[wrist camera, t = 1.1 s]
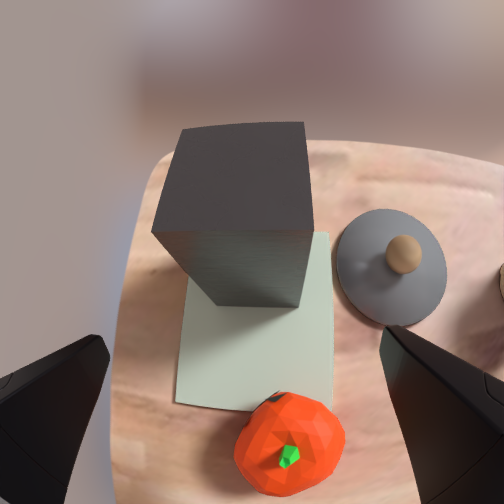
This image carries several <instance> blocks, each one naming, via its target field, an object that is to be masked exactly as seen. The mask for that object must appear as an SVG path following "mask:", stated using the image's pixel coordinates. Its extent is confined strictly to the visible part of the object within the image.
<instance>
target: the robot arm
mask: <svg viewBox="0 0 504 504" xmlns="http://www.w3.org/2000/svg"><path fill="white" fill-rule="evenodd" d="M379 352H380V358H381V361H382V365H383V369H384V374H385V378H386V382H387V386H388V391H389V395H390V398H391V401H392V404H393V407H394V410H395V413H396V416H397V419H398V422H399V425H400V428H401V431H402V434H403V437H404V440H405V444H406V447H407V450H408V454H409V457H410V461H411V464H412V468H413V472H414V476H415V480H416V484H417V488H418V492H419V496H420V501H421V504H504V382H503V381H501V380H499V379H497V378H495V377H493V376H491V375H490V374H488V373H486V372H484V373H483V371H482V370H480V369H479V368H477V367H475V366H473V365H471V364H469V363H468V362H466V361H464V360H462V359H460V358H459V357H457V356H455V355H453V354H451V353H449V352H448V351H446V350H444V349H442V348H440V347H438V346H436V345H435V344H433V343H431V342H429V341H427V340H425V339H424V338H422V337H420V336H418V335H416V334H414V333H413V332H411V331H409V330H407V329H405V328H403V327H401V326H400V325H397V324H395V325H389V326H386V327H384V329H383V333H382V338H381V343H380V349H379ZM109 361H110V354H109V352H108V349H107V347H106V345H105V343H104V340H103V338H102V337H101V336H100V335H93V334H91V335H88V336H86V337H84V338H82V339H80V340H78V341H76V342H74V343H72V344H70V345H68V346H66V347H64V348H61V349H59V350H57V351H56V352H54V353H52V354H49V355H48V356H46V357H43V358H41V359H39V360H37V361H35V362H33V363H31V364H29V365H27V366H25V367H23V368H21V369H19V370H17V371H15V372H14V373H11V374H9V375H6V376H4V377H2V378H0V504H64V501H65V496H66V493H67V487H68V485H69V481H70V477H71V474H72V470H73V467H74V464H75V461H76V458H77V455H78V452H79V449H80V446H81V443H82V440H83V437H84V434H85V431H86V428H87V426H88V423H89V420H90V418H91V415H92V412H93V410H94V407H95V405H96V402H97V400H98V397H99V394H100V391H101V388H102V384H103V381H104V378H105V374H106V371H107V368H108V365H109Z"/></svg>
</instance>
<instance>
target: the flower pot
mask: <svg viewBox="0 0 504 504" xmlns="http://www.w3.org/2000/svg"><path fill="white" fill-rule="evenodd" d="M500 274H501V279H500V289H501V293H502V296H503V299H504V264H503V265H502V267H501V270H500Z"/></svg>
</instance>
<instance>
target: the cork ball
mask: <svg viewBox="0 0 504 504" xmlns="http://www.w3.org/2000/svg"><path fill="white" fill-rule="evenodd" d="M421 258H422V250H421V247H420V245H419V243H418V242H417V240H416V239H414V238H413V237H411V236H409V235H399V236H396V237H394V238H393V239H392V240H391V241H390V242H389V244H388V246H387V248H386V261H387V263H388V265H389V267H390V268H391V269H392V270H393V271H395V272H396V273H399V274H408V273H411V272H413V271H414V270H415V269H416V268H417V267H418V266H419V264H420V262H421Z"/></svg>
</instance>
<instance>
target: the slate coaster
mask: <svg viewBox="0 0 504 504" xmlns="http://www.w3.org/2000/svg"><path fill="white" fill-rule="evenodd" d="M399 235H409V236H411V237H413V238H414V239H416V240H417V242H418V243H419V245H420V247H421V250H422V258H421V262H420V264H419V266H418V267H417V268H416V269H415V270H414V271H413V272H411V273H408V274H399V273H396V272H395V271H393V270H392V269H391V268H390V267H389V265H388V263H387V261H386V248H387V246H388V244H389V242H390V241H391V240H392V239H393V238H394V237H396V236H399ZM336 267H337V274H338V278H339V281H340V284H341V286H342V289H343V291H344V292H345V294H346V296H347V298H348V299H349V300H350V302H351V303H352V304H353V305H354V306H355V308H356V309H357V310H358V311H360V312H361V313H362V314H363V315H365V316H366V317H368V318H369V319H371V320H373V321H375V322H377V323H380V324H383V325H387V326H389V325H395V324H397V325H400V326H407V325H411V324H414V323H416V322H418V321H420V320H422V319H424V318H426V317H427V316H428V315H430V314H431V313H432V312H433V311H434V310H435V309H436V307H437V306H438V304H439V303H440V301H441V299H442V297H443V294H444V291H445V288H446V282H447V267H446V261H445V257H444V254H443V252H442V249H441V247H440V245H439V243H438V241H437V240H436V238H435V237H434V235H433V234H432V233H431V231H430V230H429V229H428V228H427V227H426V226H425V225H424V224H422V223H421V222H420V221H419V220H417V219H416V218H414V217H412V216H410V215H408V214H406V213H403V212H401V211H397V210H391V209H377V210H372V211H369V212H366V213H364V214H362V215H360V216H358V217H357V218H356V219H354V220H353V221H352V222H351V223H350V224H349V225H348V227H347V228H346V229H345V231H344V233H343V235H342V237H341V239H340V242H339V245H338V249H337V256H336Z"/></svg>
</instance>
